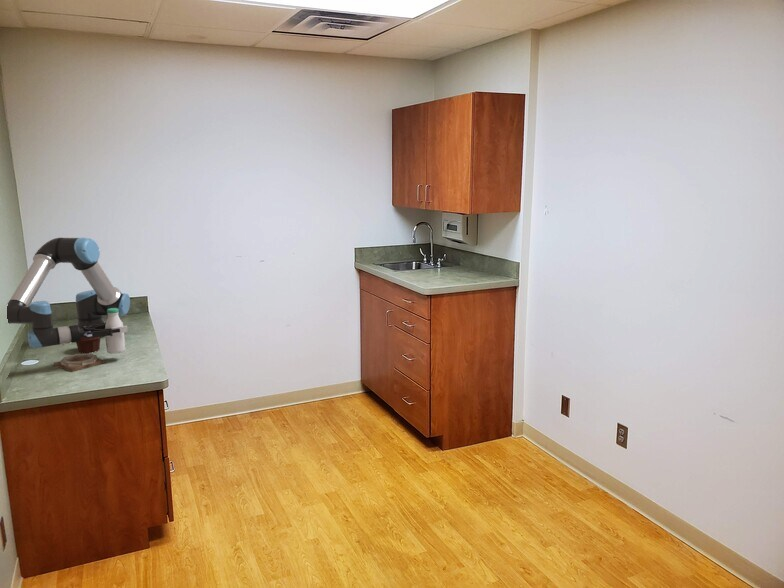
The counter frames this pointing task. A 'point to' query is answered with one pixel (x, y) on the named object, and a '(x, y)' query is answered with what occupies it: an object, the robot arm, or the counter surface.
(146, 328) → the counter surface
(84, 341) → the muffin
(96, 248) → the robot arm
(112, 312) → the milk bottle
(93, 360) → the ring stand
